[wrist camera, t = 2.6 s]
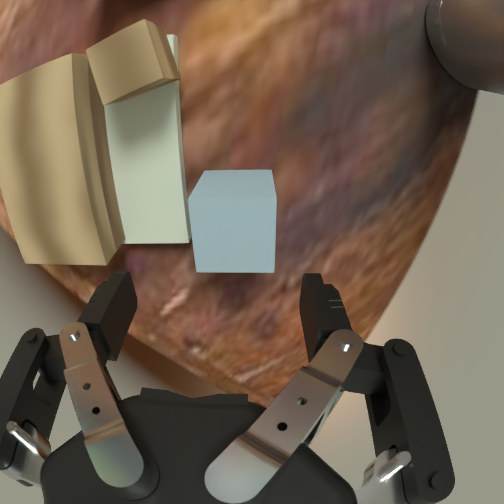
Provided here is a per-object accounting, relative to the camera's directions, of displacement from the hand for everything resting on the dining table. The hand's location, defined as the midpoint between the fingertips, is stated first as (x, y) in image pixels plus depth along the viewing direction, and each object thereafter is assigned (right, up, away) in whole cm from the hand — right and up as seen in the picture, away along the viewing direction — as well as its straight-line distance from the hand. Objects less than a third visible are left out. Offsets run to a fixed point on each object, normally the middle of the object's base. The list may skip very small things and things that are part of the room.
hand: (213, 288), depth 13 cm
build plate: (-11, +10, +7) cm, 17 cm away
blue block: (+1, +6, +9) cm, 11 cm away
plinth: (-13, +9, +6) cm, 17 cm away
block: (-5, +14, +3) cm, 16 cm away
